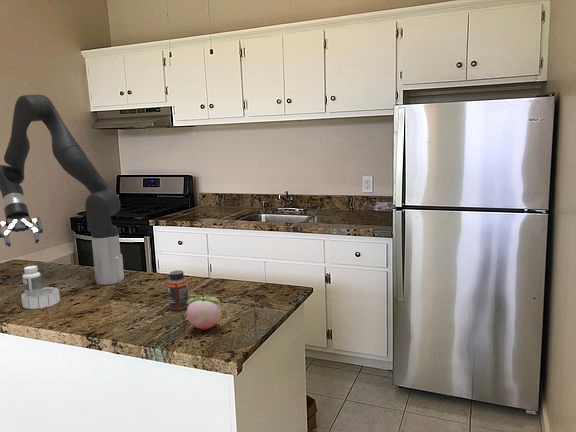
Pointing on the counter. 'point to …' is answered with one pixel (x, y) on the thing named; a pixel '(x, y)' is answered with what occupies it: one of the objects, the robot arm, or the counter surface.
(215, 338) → the counter surface
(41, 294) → the ring collar
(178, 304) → the supplement bottle
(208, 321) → the decorative fruit
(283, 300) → the counter surface
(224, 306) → the counter surface
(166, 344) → the counter surface
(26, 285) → the pill bottle
